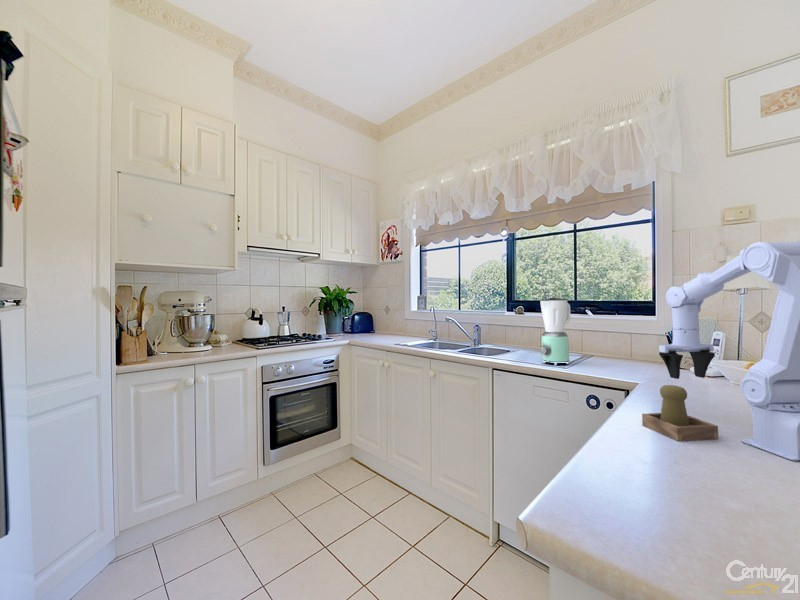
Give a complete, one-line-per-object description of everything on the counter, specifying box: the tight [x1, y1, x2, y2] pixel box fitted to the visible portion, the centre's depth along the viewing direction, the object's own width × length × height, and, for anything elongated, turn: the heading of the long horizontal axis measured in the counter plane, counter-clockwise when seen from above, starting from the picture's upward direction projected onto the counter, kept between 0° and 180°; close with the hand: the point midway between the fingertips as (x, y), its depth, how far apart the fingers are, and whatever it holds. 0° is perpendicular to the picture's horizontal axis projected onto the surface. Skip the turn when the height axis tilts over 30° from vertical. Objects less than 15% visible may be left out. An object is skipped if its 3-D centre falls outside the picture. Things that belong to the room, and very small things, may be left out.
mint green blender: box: [539, 297, 571, 363], centre depth 175 cm, size 19×13×35 cm
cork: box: [659, 384, 689, 426], centre depth 81 cm, size 6×6×11 cm
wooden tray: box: [641, 412, 719, 442], centre depth 80 cm, size 10×10×3 cm
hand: (687, 377), depth 92 cm, fingers open, 7 cm apart
